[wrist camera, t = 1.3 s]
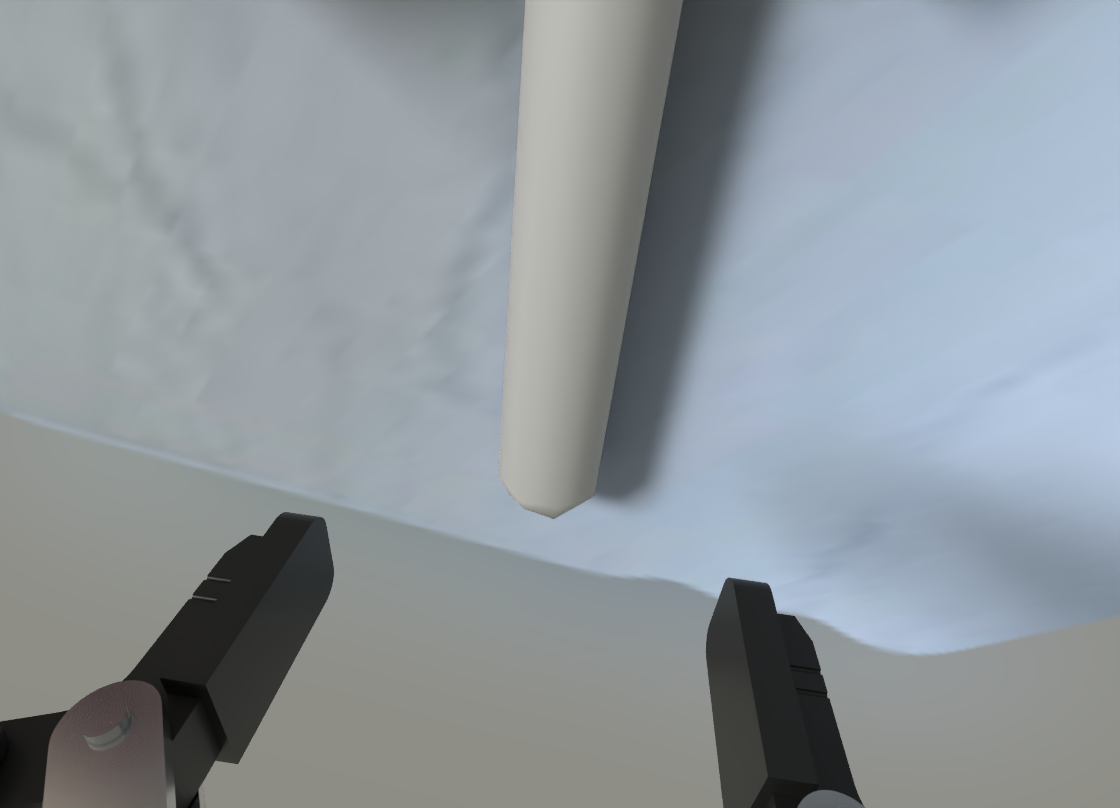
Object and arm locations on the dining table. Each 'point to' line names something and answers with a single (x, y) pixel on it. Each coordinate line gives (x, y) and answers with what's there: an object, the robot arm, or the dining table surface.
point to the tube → (577, 232)
